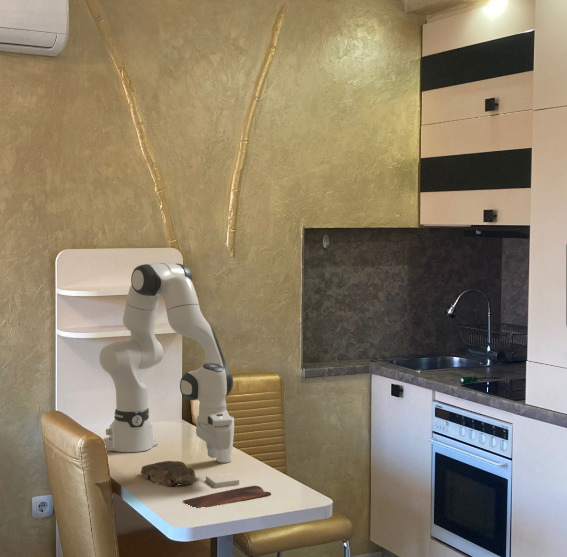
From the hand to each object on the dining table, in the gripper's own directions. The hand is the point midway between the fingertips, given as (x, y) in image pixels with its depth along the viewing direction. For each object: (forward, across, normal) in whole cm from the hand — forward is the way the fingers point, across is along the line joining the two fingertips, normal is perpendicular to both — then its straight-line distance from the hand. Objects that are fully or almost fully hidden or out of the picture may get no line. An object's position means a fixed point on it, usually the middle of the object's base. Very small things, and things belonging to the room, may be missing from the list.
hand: (211, 456), depth 281 cm
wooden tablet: (+7, +22, -4) cm, 24 cm away
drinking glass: (+6, -14, +10) cm, 18 cm away
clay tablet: (+7, -2, -13) cm, 15 cm away
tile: (+5, +4, 0) cm, 7 cm away
